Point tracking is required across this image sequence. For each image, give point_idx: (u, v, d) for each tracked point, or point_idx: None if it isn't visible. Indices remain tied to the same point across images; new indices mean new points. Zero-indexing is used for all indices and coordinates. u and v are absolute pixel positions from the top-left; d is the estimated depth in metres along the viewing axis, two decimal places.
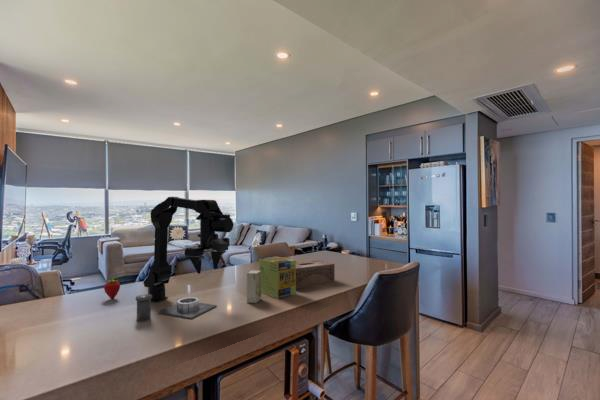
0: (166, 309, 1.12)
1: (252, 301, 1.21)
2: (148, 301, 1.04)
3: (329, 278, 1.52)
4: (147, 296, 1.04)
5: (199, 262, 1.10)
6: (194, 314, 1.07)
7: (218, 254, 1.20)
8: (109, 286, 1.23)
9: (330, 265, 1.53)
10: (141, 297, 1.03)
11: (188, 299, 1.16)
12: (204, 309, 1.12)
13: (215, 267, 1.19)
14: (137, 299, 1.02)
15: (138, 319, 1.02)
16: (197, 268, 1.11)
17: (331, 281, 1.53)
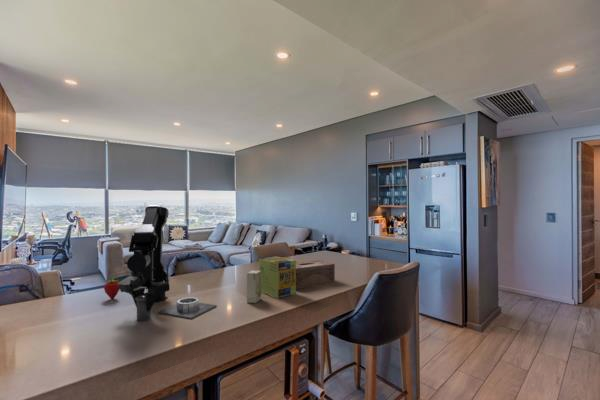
0: (166, 309, 1.12)
1: (252, 301, 1.21)
2: None
3: (329, 278, 1.52)
4: None
5: (133, 297, 1.05)
6: (194, 314, 1.07)
7: None
8: (109, 286, 1.23)
9: (330, 265, 1.53)
10: (141, 297, 1.03)
11: (188, 299, 1.16)
12: (204, 309, 1.12)
13: None
14: (137, 299, 1.02)
15: (138, 319, 1.02)
16: None
17: (331, 281, 1.53)
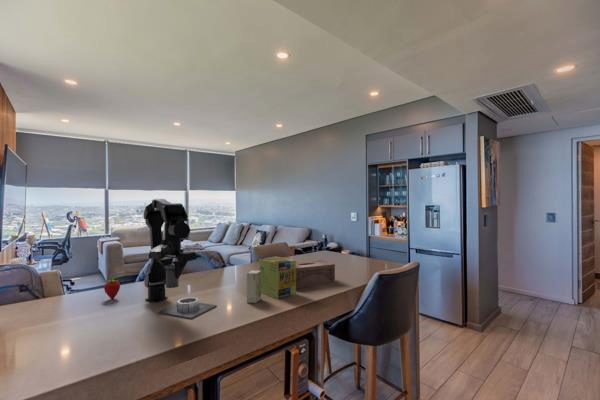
0: (166, 309, 1.12)
1: (252, 301, 1.21)
2: None
3: (329, 278, 1.51)
4: None
5: (162, 266, 1.10)
6: (194, 314, 1.07)
7: None
8: (109, 286, 1.23)
9: (330, 265, 1.52)
10: (170, 265, 1.09)
11: (188, 299, 1.16)
12: (204, 309, 1.12)
13: None
14: (166, 267, 1.08)
15: (167, 286, 1.08)
16: None
17: (331, 282, 1.52)
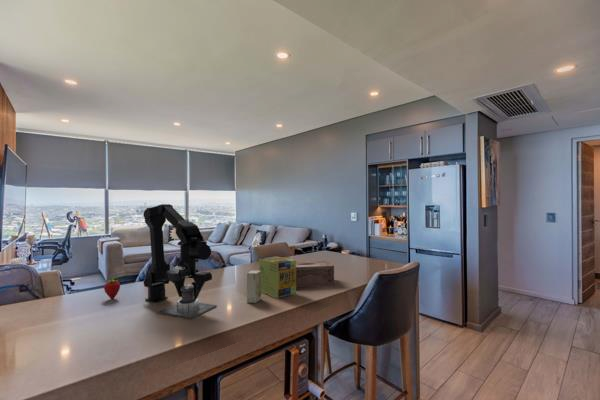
0: (166, 309, 1.12)
1: (252, 301, 1.21)
2: (192, 292, 1.13)
3: (327, 280, 1.48)
4: (191, 287, 1.13)
5: (175, 285, 1.14)
6: (194, 314, 1.07)
7: None
8: (109, 286, 1.23)
9: (329, 267, 1.48)
10: (186, 288, 1.12)
11: None
12: (204, 309, 1.12)
13: None
14: (182, 290, 1.11)
15: None
16: None
17: (330, 283, 1.48)
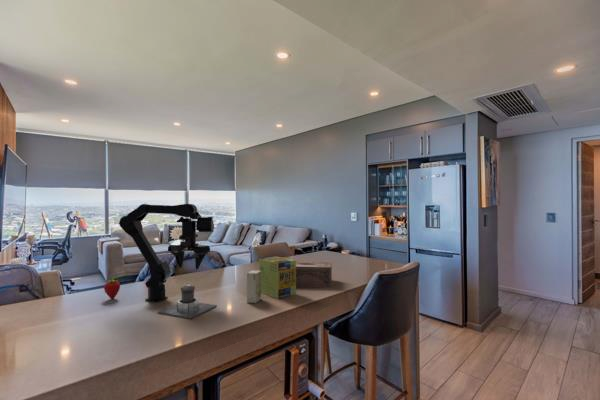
0: (166, 309, 1.12)
1: (252, 301, 1.21)
2: (192, 292, 1.13)
3: (324, 281, 1.45)
4: (191, 287, 1.13)
5: (176, 257, 1.29)
6: (194, 314, 1.07)
7: None
8: (109, 286, 1.23)
9: (325, 268, 1.45)
10: (186, 288, 1.12)
11: None
12: (204, 309, 1.12)
13: None
14: (183, 290, 1.11)
15: None
16: None
17: (326, 285, 1.45)
